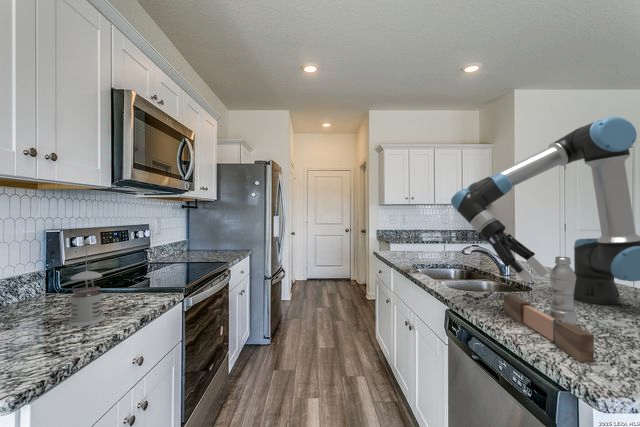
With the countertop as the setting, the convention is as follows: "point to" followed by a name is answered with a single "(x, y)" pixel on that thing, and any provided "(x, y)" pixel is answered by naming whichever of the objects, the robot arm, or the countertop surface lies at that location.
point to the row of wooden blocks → (557, 331)
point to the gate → (540, 322)
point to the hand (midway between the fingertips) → (538, 277)
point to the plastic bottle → (563, 291)
